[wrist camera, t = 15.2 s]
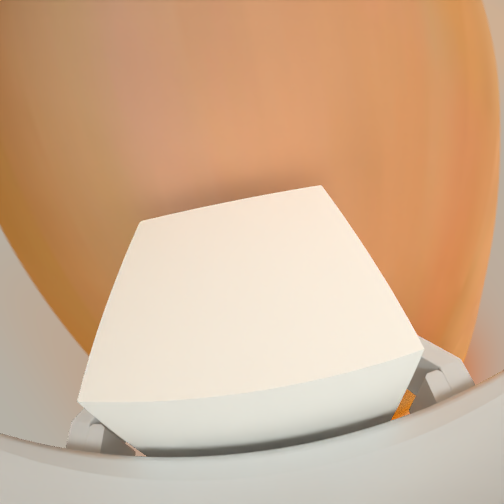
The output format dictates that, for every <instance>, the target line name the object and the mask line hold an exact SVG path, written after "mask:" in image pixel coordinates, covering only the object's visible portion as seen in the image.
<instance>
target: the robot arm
mask: <svg viewBox="0 0 504 504" xmlns="http://www.w3.org/2000/svg"><path fill="white" fill-rule="evenodd" d="M417 336H418V335H417ZM418 338H419V339H420V341H421V343H422V345H423V347H424V351H423V354H422V356H421V359H420V361H419V363H418V365H417V368H416V370H415V372H414V374H413V377H412V379H411V381H410V383H409V385H408V387H407V389H408V390H409V391H411V392H412V393H413V394H415V395H416V397H415V399H414V401H413V403H412V405H411V407H410V409H409V412H410V414H409V415H406V416H403V417H400V418H398V419H395V420H392V421H389V422H386V423H383V424H380V425H376V426H373V427H370V428H367V429H363V430H360V431H356V432H353V433H349V434H345V435H341V436H337V437H333V438H329V439H325V440H320V441H316V442H311V443H306V444H301V445H296V446H290V447H285V448H278V449H272V450H265V451H258V452H249V453H240V454H230V455H217V456H199V457H142V456H135V451H134V450H133V449H132V448H130V447H129V446H128V445H126V444H125V442H126V441H125V440H123V439H122V438H121V437H119V436H118V435H117V434H115V433H114V432H113V431H112V430H110V429H109V428H108V427H107V426H105V425H104V424H103V423H102V422H100V421H99V420H98V419H97V418H96V417H94V416H93V415H92V414H91V413H90V412H88V411H87V410H86V409H85V408H84V409H83V410H82V411H81V412H80V413H79V414H78V415H77V416H76V418H75V419H74V420H73V421H72V423H71V427H70V432H69V436H68V440H67V445H66V448H60V447H55V446H50V445H45V444H40V443H35V442H31V441H27V440H23V439H19V438H15V437H12V436H8V435H5V434H1V433H0V504H504V370H503V371H501V372H499V373H497V374H496V375H494V376H492V377H490V378H488V379H486V380H485V381H483V382H481V383H479V384H477V385H475V384H474V382H473V380H472V378H471V377H470V375H469V373H468V371H467V369H466V368H465V366H464V364H463V362H462V361H461V359H460V358H458V357H456V356H454V355H452V354H451V353H449V352H447V351H445V350H443V349H442V348H440V347H438V346H436V345H434V344H433V343H431V342H429V341H427V340H425V339H424V338H422V337H420V336H418Z"/></svg>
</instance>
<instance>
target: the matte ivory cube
mask: <svg viewBox="0 0 504 504" xmlns="http://www.w3.org/2000/svg"><path fill="white" fill-rule="evenodd" d="M423 351H424V347H423V345H422V343H421V341H420V339H419V338H418V336H417V334H416V332H415V330H414V328H413V327H412V325H411V323H410V321H409V319H408V318H407V316H406V314H405V312H404V311H403V309H402V307H401V306H400V304H399V302H398V300H397V299H396V297H395V295H394V294H393V292H392V290H391V289H390V287H389V285H388V284H387V282H386V280H385V279H384V277H383V276H382V274H381V272H380V271H379V269H378V267H377V266H376V264H375V263H374V261H373V260H372V258H371V256H370V255H369V253H368V252H367V250H366V249H365V247H364V246H363V244H362V243H361V241H360V240H359V238H358V237H357V235H356V234H355V232H354V231H353V229H352V228H351V226H350V225H349V223H348V222H347V220H346V219H345V218H344V216H343V215H342V213H341V212H340V210H339V209H338V208H337V206H336V205H335V203H334V202H333V200H332V199H331V198H330V196H329V195H328V194H327V192H326V191H325V189H324V188H323V187H322V185H319V186H312V187H306V188H300V189H295V190H289V191H283V192H278V193H272V194H267V195H261V196H256V197H251V198H245V199H240V200H235V201H230V202H225V203H220V204H216V205H211V206H206V207H201V208H197V209H192V210H187V211H183V212H178V213H174V214H170V215H165V216H161V217H157V218H152V219H148V220H144V221H140V223H139V225H138V227H137V229H136V232H135V234H134V236H133V239H132V241H131V243H130V246H129V248H128V250H127V253H126V255H125V258H124V260H123V263H122V265H121V268H120V270H119V273H118V275H117V278H116V280H115V283H114V286H113V288H112V291H111V294H110V296H109V299H108V302H107V305H106V307H105V310H104V313H103V316H102V319H101V322H100V325H99V328H98V331H97V334H96V337H95V340H94V343H93V346H92V350H91V353H90V356H89V360H88V363H87V367H86V370H85V374H84V377H83V381H82V385H81V388H80V392H79V397H78V400H77V402H78V403H79V404H81V405H82V406H83V407H84V408H85V409H86V410H87V411H88V412H90V413H91V414H92V415H93V416H94V417H96V418H97V419H98V420H99V421H100V422H102V423H103V424H104V425H105V426H107V427H108V428H109V429H110V430H112V431H113V432H114V433H115V434H117V435H118V436H119V437H121V438H122V439H123V440H125V441H126V442H127V443H129V444H130V445H132V446H133V447H134V448H136V449H137V450H139V451H140V452H142V453H143V454H144V455H146V456H147V457H199V456H217V455H230V454H240V453H249V452H258V451H265V450H272V449H278V448H285V447H290V446H296V445H301V444H306V443H311V442H316V441H320V440H325V439H329V438H333V437H337V436H341V435H345V434H349V433H353V432H356V431H360V430H363V429H367V428H370V427H373V426H376V425H380V424H383V423H386V422H389V421H390V420H391V419H392V417H393V415H394V413H395V411H396V409H397V407H398V405H399V403H400V401H401V399H402V398H403V395H404V393H405V391H406V389H407V387H408V385H409V383H410V381H411V379H412V377H413V374H414V372H415V370H416V368H417V365H418V363H419V361H420V359H421V356H422V354H423Z"/></svg>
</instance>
